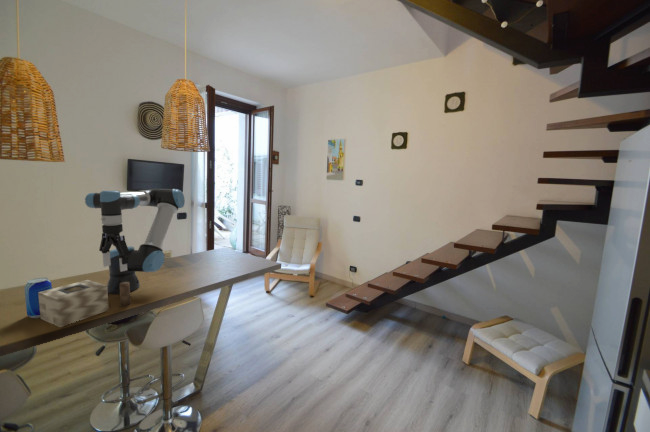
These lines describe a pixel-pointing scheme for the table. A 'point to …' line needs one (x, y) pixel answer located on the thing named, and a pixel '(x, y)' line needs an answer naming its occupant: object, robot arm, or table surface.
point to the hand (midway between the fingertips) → (115, 268)
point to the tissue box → (73, 302)
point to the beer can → (35, 295)
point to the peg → (125, 294)
